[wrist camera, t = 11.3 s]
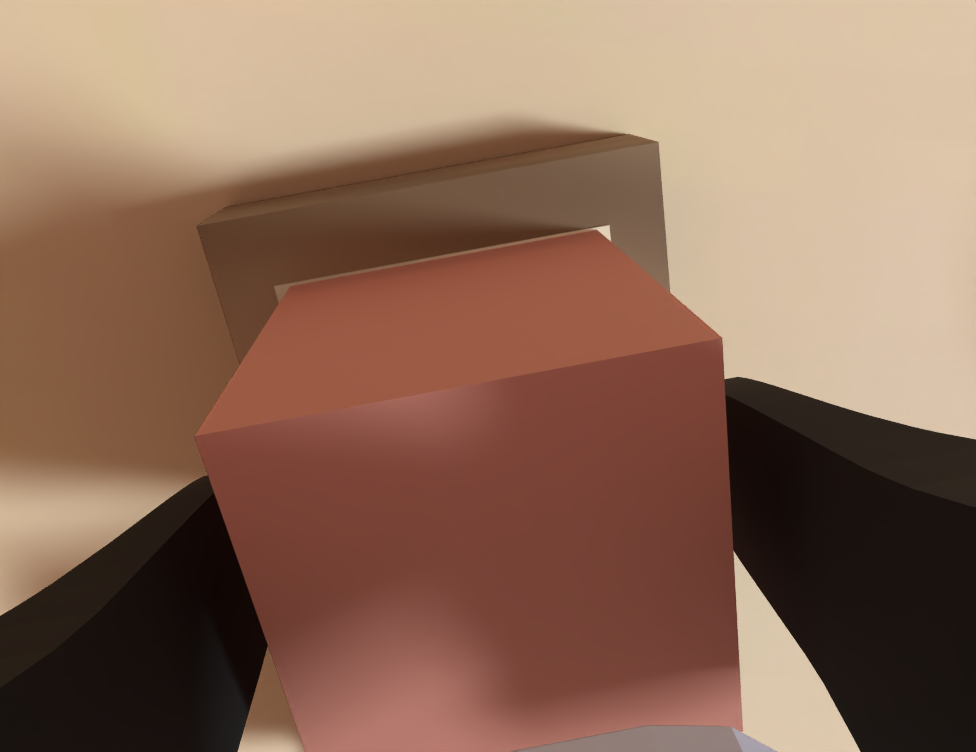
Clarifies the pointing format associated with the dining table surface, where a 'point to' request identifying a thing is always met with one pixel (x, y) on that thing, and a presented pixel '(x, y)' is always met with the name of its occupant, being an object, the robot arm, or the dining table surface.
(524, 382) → the brick block
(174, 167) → the dining table surface
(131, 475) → the dining table surface
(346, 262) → the walnut base plate
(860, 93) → the dining table surface
